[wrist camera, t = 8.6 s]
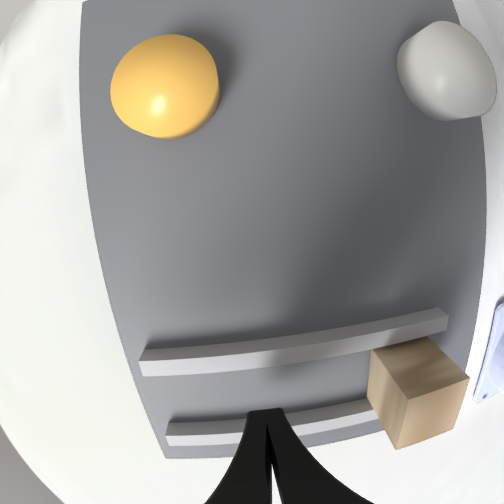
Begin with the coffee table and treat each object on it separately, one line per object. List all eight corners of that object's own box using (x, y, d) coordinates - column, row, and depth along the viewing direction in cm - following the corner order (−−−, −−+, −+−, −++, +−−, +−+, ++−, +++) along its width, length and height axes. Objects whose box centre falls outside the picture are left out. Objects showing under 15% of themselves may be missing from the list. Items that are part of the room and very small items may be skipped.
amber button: (215, 45, 10) (212, 26, 9) (224, 132, 11) (222, 125, 9) (125, 62, 10) (109, 47, 9) (130, 147, 11) (114, 144, 9)
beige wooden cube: (425, 334, 14) (469, 377, 10) (417, 382, 14) (452, 428, 10) (371, 347, 14) (407, 399, 10) (366, 396, 14) (395, 450, 10)
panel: (436, 3, 11) (459, -13, 9) (444, 392, 17) (462, 414, 15) (94, 14, 11) (74, -7, 8) (169, 441, 17) (163, 470, 14)
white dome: (459, 44, 9) (484, 32, 7) (474, 124, 10) (503, 121, 8) (388, 30, 9) (410, 12, 7) (405, 118, 10) (431, 111, 8)
